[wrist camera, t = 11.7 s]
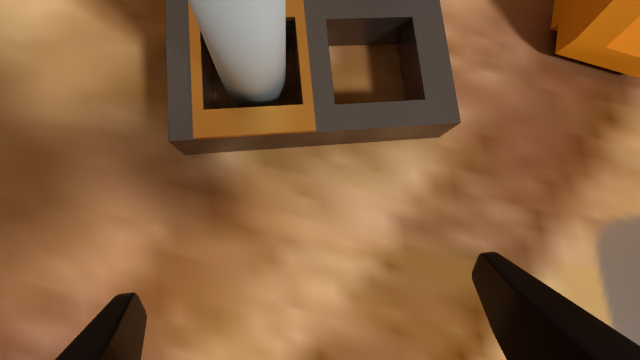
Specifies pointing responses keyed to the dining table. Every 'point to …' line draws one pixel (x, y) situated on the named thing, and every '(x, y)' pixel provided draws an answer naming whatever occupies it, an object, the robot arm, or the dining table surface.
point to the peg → (246, 47)
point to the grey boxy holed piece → (315, 80)
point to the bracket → (599, 33)
